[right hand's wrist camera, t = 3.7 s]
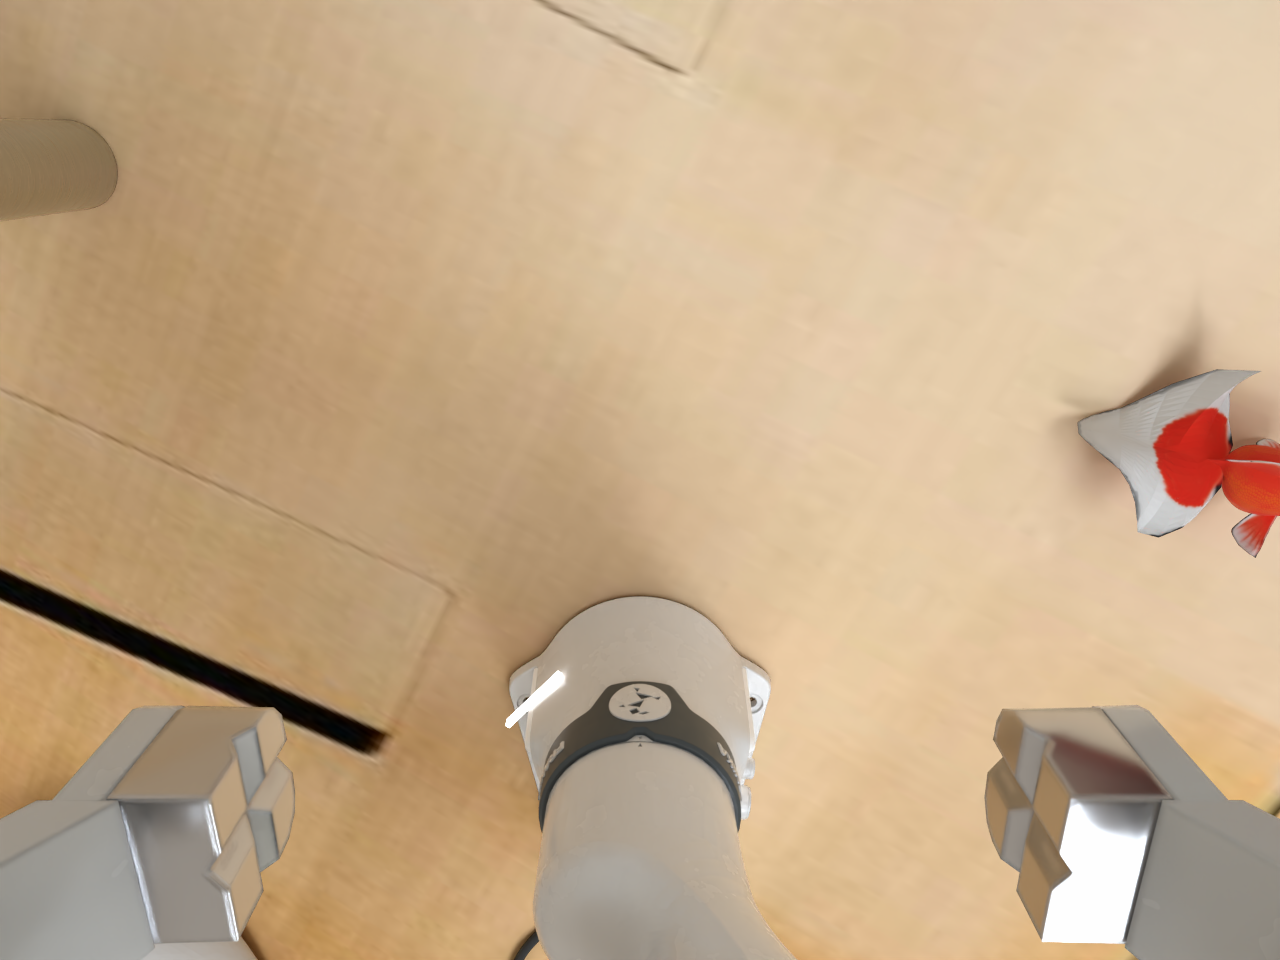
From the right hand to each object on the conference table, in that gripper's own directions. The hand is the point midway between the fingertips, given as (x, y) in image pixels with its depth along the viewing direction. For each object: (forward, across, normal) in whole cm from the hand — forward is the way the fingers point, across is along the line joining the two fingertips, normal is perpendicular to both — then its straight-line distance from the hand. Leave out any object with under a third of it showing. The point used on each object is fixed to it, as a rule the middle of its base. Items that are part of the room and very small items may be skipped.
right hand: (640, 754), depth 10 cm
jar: (+48, -33, +5) cm, 59 cm away
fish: (+48, +35, -13) cm, 61 cm away
